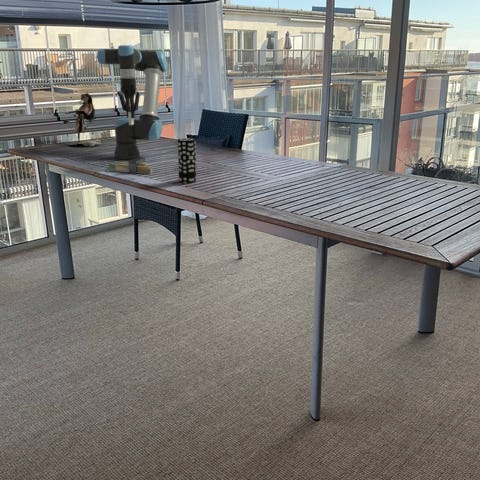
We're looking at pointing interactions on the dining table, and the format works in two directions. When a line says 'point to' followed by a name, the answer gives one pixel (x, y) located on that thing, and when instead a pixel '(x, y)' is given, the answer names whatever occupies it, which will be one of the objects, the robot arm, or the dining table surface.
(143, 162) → the tongs jaw
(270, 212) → the dining table surface
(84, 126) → the figurine
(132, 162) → the collar
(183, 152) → the white-spotted black cylinder
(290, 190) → the dining table surface
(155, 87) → the robot arm
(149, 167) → the bar
